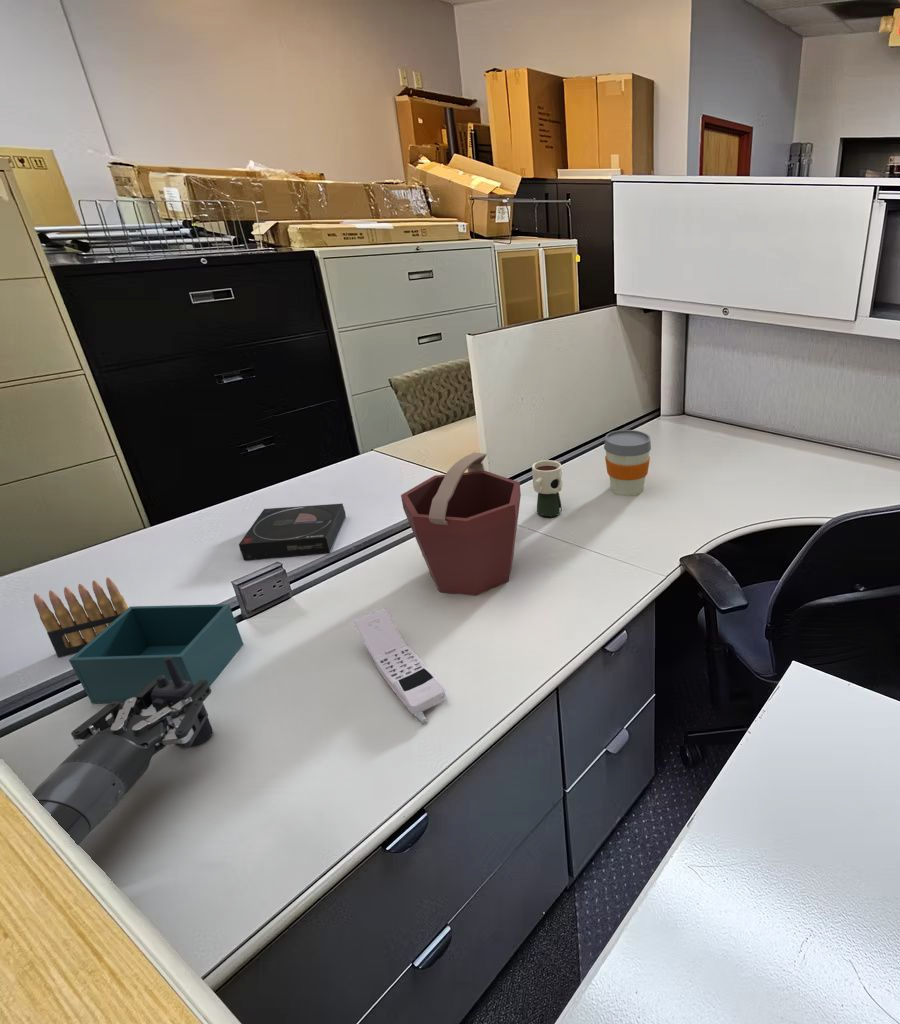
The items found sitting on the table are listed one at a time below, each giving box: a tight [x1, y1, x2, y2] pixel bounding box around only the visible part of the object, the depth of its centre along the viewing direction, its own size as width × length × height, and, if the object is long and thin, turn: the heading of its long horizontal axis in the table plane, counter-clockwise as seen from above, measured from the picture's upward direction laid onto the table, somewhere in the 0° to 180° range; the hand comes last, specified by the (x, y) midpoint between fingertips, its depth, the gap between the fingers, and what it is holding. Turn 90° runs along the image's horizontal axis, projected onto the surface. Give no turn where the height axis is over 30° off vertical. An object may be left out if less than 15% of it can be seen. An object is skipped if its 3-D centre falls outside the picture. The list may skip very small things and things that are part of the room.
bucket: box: [400, 451, 522, 596], centre depth 124 cm, size 24×22×25 cm
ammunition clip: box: [33, 577, 129, 658], centre depth 103 cm, size 11×2×12 cm, turn 126°
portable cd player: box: [238, 503, 347, 562], centre depth 139 cm, size 16×17×4 cm
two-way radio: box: [151, 656, 214, 746], centre depth 85 cm, size 6×4×15 cm
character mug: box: [531, 459, 564, 517], centre depth 152 cm, size 11×7×13 cm, turn 163°
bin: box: [68, 603, 244, 705], centre depth 99 cm, size 15×13×9 cm
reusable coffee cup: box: [603, 429, 652, 497], centre depth 167 cm, size 13×13×15 cm
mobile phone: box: [352, 607, 447, 724], centre depth 101 cm, size 6×6×25 cm
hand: (183, 684), depth 87 cm, fingers closed on two-way radio, 5 cm apart
